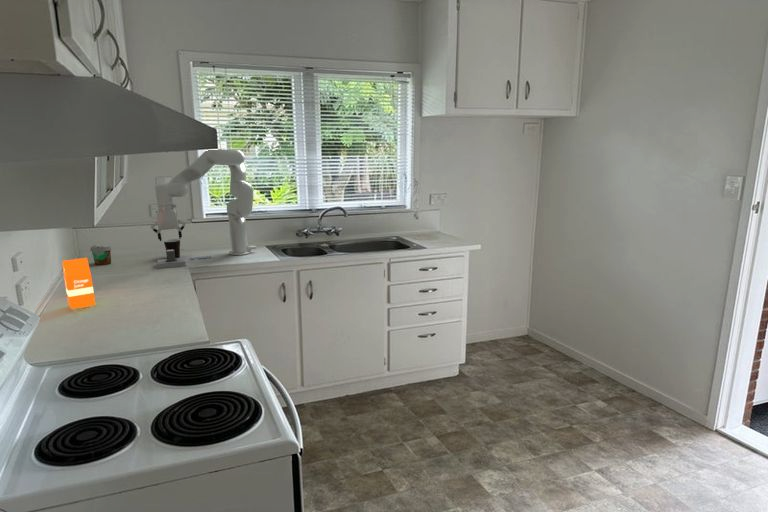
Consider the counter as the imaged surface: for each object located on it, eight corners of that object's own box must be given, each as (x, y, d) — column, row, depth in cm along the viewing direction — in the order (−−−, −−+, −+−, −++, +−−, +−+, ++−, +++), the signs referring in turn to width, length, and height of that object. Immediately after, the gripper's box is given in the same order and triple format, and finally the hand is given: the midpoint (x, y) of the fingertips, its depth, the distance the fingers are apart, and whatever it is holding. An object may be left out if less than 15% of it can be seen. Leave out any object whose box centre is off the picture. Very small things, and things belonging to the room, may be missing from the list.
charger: (175, 263, 278) (174, 249, 276) (175, 265, 274) (174, 250, 272) (167, 264, 276) (166, 249, 274) (167, 266, 273) (166, 251, 271)
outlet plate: (185, 261, 282) (185, 257, 281) (185, 265, 273) (185, 261, 272) (158, 264, 277) (157, 259, 277) (157, 268, 268) (156, 264, 268)
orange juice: (68, 306, 209) (60, 259, 205) (92, 302, 214) (86, 255, 210) (71, 311, 203) (63, 262, 198) (96, 306, 208) (89, 259, 204)
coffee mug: (178, 259, 288) (176, 242, 286) (163, 259, 288) (161, 242, 286) (186, 254, 299) (184, 237, 297) (171, 254, 299) (170, 238, 297)
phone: (210, 257, 295) (210, 255, 295) (211, 259, 290) (211, 257, 290) (190, 259, 291) (190, 257, 291) (190, 261, 286) (190, 259, 286)
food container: (87, 264, 278) (84, 247, 276) (97, 262, 283) (94, 244, 281) (103, 266, 273) (100, 248, 271) (113, 264, 279) (110, 246, 277)
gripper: (183, 205, 274) (187, 236, 279) (148, 208, 269) (153, 240, 273) (183, 207, 267) (187, 239, 272) (147, 210, 262) (152, 242, 266)
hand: (170, 239), depth 272 cm, fingers open, 9 cm apart
